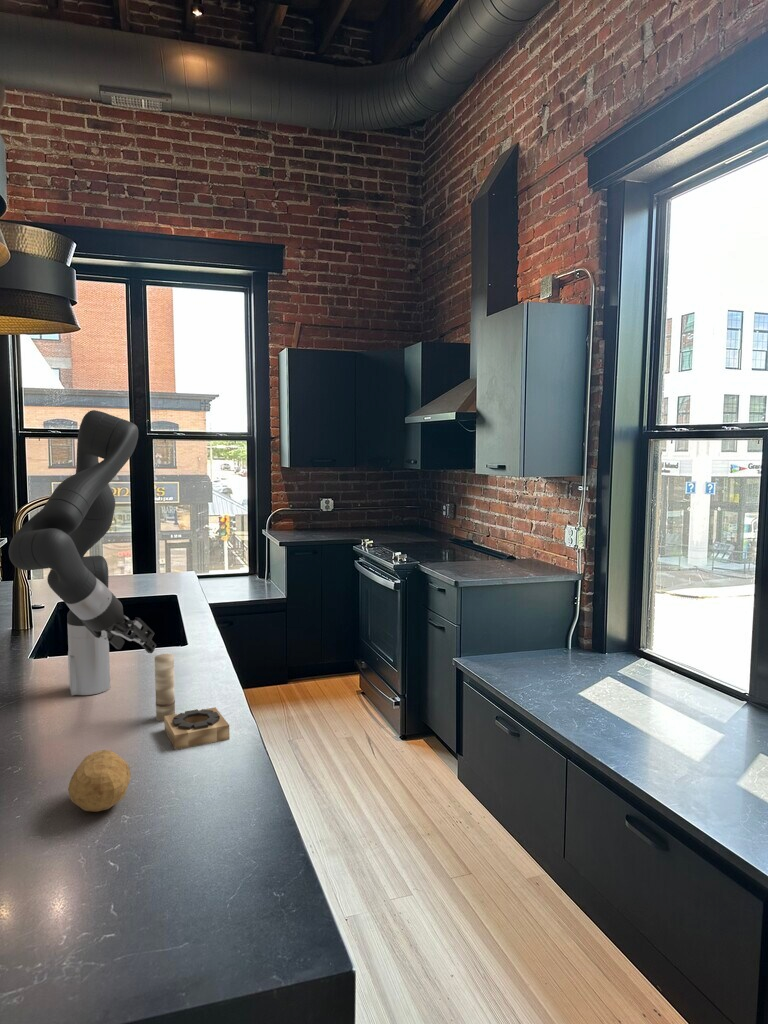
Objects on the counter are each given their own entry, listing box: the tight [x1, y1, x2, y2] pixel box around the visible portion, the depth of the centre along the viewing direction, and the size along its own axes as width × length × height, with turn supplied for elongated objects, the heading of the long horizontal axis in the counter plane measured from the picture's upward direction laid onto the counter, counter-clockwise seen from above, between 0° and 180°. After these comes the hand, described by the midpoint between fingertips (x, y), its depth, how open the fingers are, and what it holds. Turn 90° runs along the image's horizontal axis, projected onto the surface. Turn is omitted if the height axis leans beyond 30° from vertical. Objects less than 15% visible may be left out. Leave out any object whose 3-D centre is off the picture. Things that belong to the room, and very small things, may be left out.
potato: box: [67, 749, 132, 813], centre depth 118 cm, size 10×14×8 cm
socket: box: [163, 707, 230, 750], centre depth 147 cm, size 11×11×4 cm
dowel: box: [154, 653, 176, 722], centre depth 155 cm, size 4×4×14 cm
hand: (136, 647), depth 147 cm, fingers open, 8 cm apart
